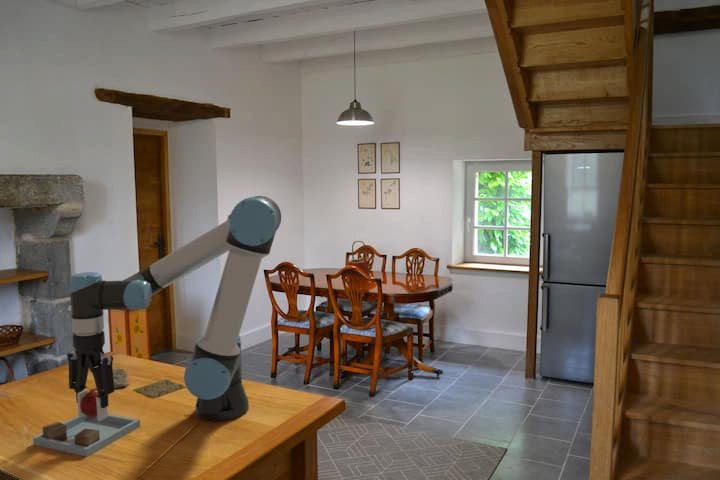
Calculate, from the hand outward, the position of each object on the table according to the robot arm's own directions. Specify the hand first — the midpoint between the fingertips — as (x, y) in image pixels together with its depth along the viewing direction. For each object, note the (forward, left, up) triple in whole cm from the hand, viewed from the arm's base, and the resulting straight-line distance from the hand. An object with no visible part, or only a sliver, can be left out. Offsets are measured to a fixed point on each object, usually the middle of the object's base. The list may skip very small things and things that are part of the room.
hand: (93, 416), depth 152 cm
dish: (0, +2, -5) cm, 5 cm away
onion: (0, 0, 0) cm, 0 cm away
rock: (+22, -31, -5) cm, 38 cm away
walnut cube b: (+5, +7, -4) cm, 10 cm away
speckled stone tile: (+6, -33, -5) cm, 34 cm away
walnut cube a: (-6, +7, -4) cm, 10 cm away
